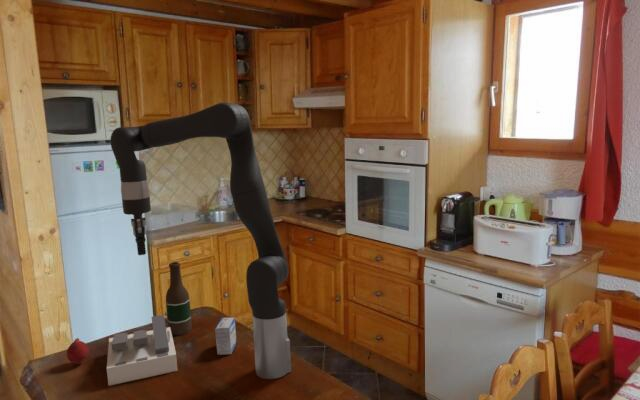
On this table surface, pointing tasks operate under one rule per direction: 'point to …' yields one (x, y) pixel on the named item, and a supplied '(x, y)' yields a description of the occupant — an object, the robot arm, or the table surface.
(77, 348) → the onion
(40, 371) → the table surface
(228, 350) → the medicine box
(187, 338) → the table surface
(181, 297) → the beer bottle
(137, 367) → the board rack
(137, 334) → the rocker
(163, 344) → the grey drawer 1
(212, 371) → the table surface
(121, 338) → the grey board
